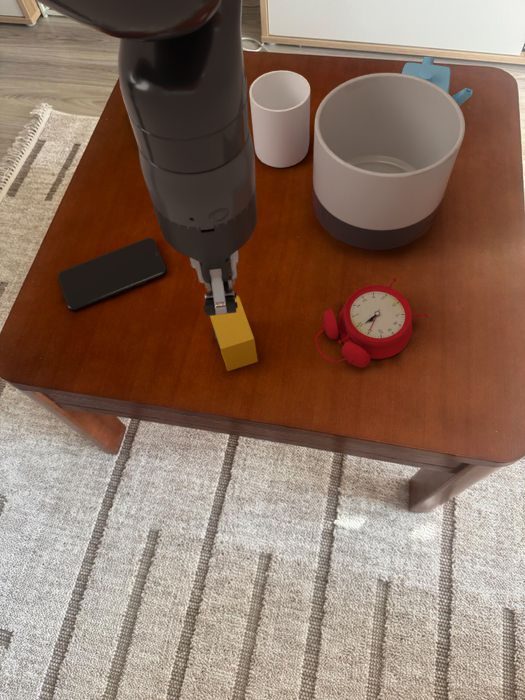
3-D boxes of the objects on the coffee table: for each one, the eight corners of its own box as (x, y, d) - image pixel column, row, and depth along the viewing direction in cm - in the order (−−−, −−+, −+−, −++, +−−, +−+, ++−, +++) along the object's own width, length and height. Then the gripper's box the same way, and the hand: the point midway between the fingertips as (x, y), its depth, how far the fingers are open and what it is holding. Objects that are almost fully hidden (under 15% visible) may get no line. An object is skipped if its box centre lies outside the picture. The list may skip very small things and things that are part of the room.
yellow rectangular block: (258, 361, 74) (254, 338, 67) (226, 372, 73) (219, 349, 67) (242, 318, 77) (237, 292, 71) (212, 328, 77) (204, 303, 70)
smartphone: (70, 314, 79) (169, 275, 81) (68, 311, 78) (168, 271, 80) (58, 275, 82) (153, 238, 84) (55, 272, 82) (152, 234, 84)
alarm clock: (439, 319, 71) (353, 363, 65) (421, 344, 76) (340, 387, 70) (390, 266, 75) (306, 303, 69) (377, 294, 80) (297, 330, 74)
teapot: (386, 88, 97) (395, 34, 88) (464, 97, 95) (482, 43, 86) (369, 158, 90) (377, 107, 81) (453, 170, 87) (471, 119, 78)
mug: (247, 164, 91) (241, 106, 80) (267, 117, 96) (264, 56, 85) (301, 174, 89) (301, 116, 78) (318, 125, 94) (320, 64, 83)
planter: (311, 262, 81) (314, 177, 65) (311, 169, 89) (314, 73, 73) (440, 262, 79) (475, 175, 63) (427, 167, 88) (456, 69, 72)
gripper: (143, 115, 39) (180, 247, 55) (152, 267, 34) (190, 364, 50) (243, 104, 39) (251, 238, 55) (268, 253, 34) (269, 354, 50)
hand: (222, 298), depth 52 cm, fingers closed
